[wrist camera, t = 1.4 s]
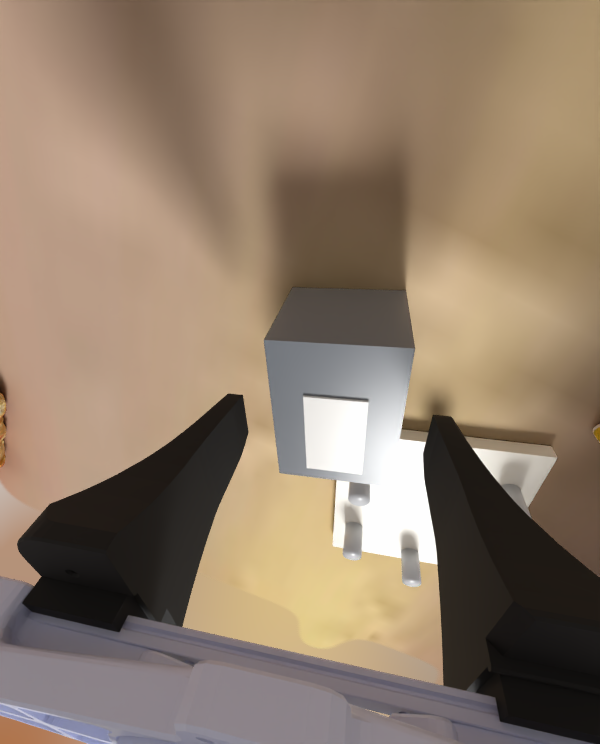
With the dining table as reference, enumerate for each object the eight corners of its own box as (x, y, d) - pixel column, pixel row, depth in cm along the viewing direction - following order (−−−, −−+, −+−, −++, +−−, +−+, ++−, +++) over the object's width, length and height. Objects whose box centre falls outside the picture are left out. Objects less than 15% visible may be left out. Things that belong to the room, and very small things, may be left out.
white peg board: (485, 561, 25) (496, 604, 23) (333, 536, 27) (329, 573, 25) (551, 446, 18) (575, 491, 16) (340, 422, 20) (335, 459, 18)
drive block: (389, 411, 19) (391, 489, 15) (300, 403, 20) (279, 474, 16) (405, 289, 15) (415, 350, 11) (293, 286, 16) (262, 341, 12)
